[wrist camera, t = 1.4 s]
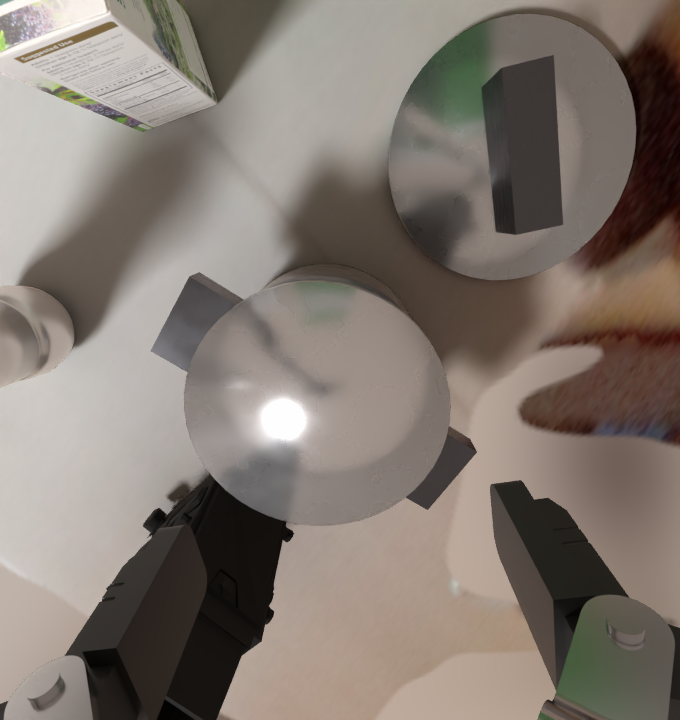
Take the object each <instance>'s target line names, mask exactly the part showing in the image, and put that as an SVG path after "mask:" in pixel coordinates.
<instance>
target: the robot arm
mask: <svg viewBox="0 0 680 720" xmlns="http://www.w3.org/2000/svg"><path fill="white" fill-rule="evenodd" d="M490 494H491V506H492V516H493V517H492V518H493V529H494V538H495V542H496V547H497V550H498V554H499V557H500V560H501V562H502V565H503V567H504V569H505V571H506V574H507V576H508V579H509V581H510V583H511V586H512V588H513V590H514V593H515V595H516V598H517V600H518V602H519V605H520V607H521V609H522V612H523V614H524V616H525V619H526V621H527V623H528V626H529V628H530V630H531V633H532V635H533V637H534V640H535V642H536V644H537V647H538V649H539V652H540V654H541V656H542V658H543V661H544V663H545V665H546V668H547V670H548V672H549V675H550V677H551V680H552V682H553V684H554V687H555V689H556V694H555V697H554V699H553V701H550V700H546V701H545V703H544V705H543V707H542V709H541V711H540V714H539V717H538V720H680V628H678V627H675V626H672V625H669V624H667V623H666V621H665V620H664V619H663V618H662V617H661V616H660V615H659V614H657V613H656V612H655V611H654V610H652V609H651V608H649V607H648V606H646V605H645V604H643V603H641V602H639V601H636V600H634V599H631V598H629V596H628V595H627V594H626V593H625V591H624V590H623V588H622V587H621V585H620V584H619V583H618V581H617V580H616V578H615V577H614V576H613V574H612V573H611V571H610V570H609V569H608V567H607V566H606V565H605V563H604V562H603V560H602V559H601V558H600V556H599V555H598V553H597V552H596V551H595V549H594V548H593V547H592V545H591V544H590V543H588V540H587V538H586V537H585V535H584V534H583V533H582V531H581V530H579V529H578V526H577V524H576V523H575V521H574V520H573V519H572V517H571V516H570V515H569V513H568V512H567V510H565V509H564V508H562V507H561V506H559V505H558V504H556V503H555V502H553V501H552V500H550V499H549V498H544V499H537V500H534V499H533V497H532V496H531V494H530V493H529V491H528V489H527V488H526V486H525V485H524V483H523V482H522V481H521V480H519V481H512V482H504V483H497V484H491V486H490ZM206 588H207V573H206V568H205V565H204V562H203V560H202V557H201V554H200V551H199V548H198V545H197V542H196V539H195V536H194V533H193V531H192V529H191V527H190V526H189V525H181V526H174V527H166V528H160V529H158V530H157V531H156V533H155V534H154V536H153V537H152V539H151V541H150V542H149V544H148V545H147V547H146V549H145V550H143V551H139V552H138V553H137V554H136V555H135V556H134V557H133V558H132V559H130V560H129V561H128V562H127V563H126V564H125V565H124V566H123V567H122V569H121V570H120V572H119V573H118V575H117V576H116V578H115V579H114V581H113V582H112V586H111V587H109V589H108V590H107V592H106V593H105V595H104V596H103V598H102V602H99V604H98V605H97V607H96V609H95V610H94V612H93V613H92V615H91V616H90V618H89V619H88V621H87V622H86V624H85V625H84V627H83V629H82V630H81V632H80V633H79V635H78V636H77V638H76V639H75V641H74V642H73V644H72V645H71V647H70V648H69V650H68V652H67V653H66V655H65V656H63V657H60V658H57V659H54V660H52V661H50V662H48V663H46V664H45V665H43V666H41V667H40V668H38V669H37V670H36V671H34V672H33V673H32V674H31V675H29V676H28V677H27V678H26V679H25V680H24V681H23V682H22V683H21V684H20V685H19V687H18V688H17V689H16V690H15V692H14V693H13V694H12V696H11V697H10V699H9V701H7V702H4V703H2V704H0V720H157V717H158V715H159V712H160V710H161V707H162V705H163V702H164V699H165V697H166V694H167V692H168V689H169V687H170V684H171V681H172V679H173V676H174V674H175V671H176V668H177V666H178V663H179V661H180V658H181V656H182V653H183V650H184V648H185V645H186V643H187V640H188V637H189V635H190V632H191V630H192V627H193V625H194V622H195V619H196V617H197V614H198V612H199V609H200V606H201V604H202V601H203V599H204V596H205V593H206Z"/></svg>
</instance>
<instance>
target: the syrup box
mask: <svg viewBox="0 0 680 720" xmlns="http://www.w3.org/2000/svg"><path fill="white" fill-rule="evenodd" d="M0 73H1V74H3V75H6V76H8V77H10V78H13V79H15V80H18V81H20V82H23V83H25V84H27V85H30V86H32V87H35V88H37V89H40V90H42V91H45V92H47V93H50V94H52V95H55V96H57V97H59V98H61V99H64V100H66V101H69V102H71V103H74V104H76V105H79V106H81V107H83V108H86V109H89V110H91V111H93V112H96V113H98V114H101V115H103V116H106V117H108V118H111V119H113V120H115V121H117V122H120V123H122V124H125V125H127V126H129V127H132V128H134V129H137V130H139V131H142V132H144V131H146V130H149V129H152V128H154V127H157V126H160V125H162V124H165V123H168V122H170V121H173V120H176V119H178V118H181V117H184V116H186V115H189V114H192V113H195V112H198V111H200V110H203V109H206V108H209V107H211V106H214V105H216V104H217V103H218V101H217V98H216V95H215V92H214V89H213V86H212V83H211V80H210V77H209V75H208V72H207V69H206V66H205V63H204V60H203V57H202V54H201V51H200V48H199V45H198V42H197V40H196V37H195V34H194V31H193V28H192V25H191V22H190V19H189V16H188V13H187V10H186V8H185V6H184V5H183V4H182V2H181V1H180V0H0Z"/></svg>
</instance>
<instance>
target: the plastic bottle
mask: <svg viewBox="0 0 680 720" xmlns="http://www.w3.org/2000/svg"><path fill="white" fill-rule="evenodd" d="M73 344H74V327H73V323H72V320H71V317H70V315H69V314H68V312H67V310H66V309H65V308H64V306H63V305H62V304H61V303H60V302H59V301H58V300H56V299H55V298H54V297H52V296H51V295H49V294H48V293H46V292H44V291H42V290H40V289H38V288H34V287H31V286H2V287H0V388H1V387H3V386H6V385H8V384H11V383H13V382H16V381H19V380H24V379H29V378H32V377H35V376H38V375H41V374H44V373H47V372H49V371H51V370H53V369H54V368H56V367H57V366H58V365H59V364H60V363H61V362H62V361H63V360H64V359H65V358H66V357H67V356H68V355H69V353H70V352H71V350H72V347H73Z"/></svg>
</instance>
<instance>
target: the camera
mask: <svg viewBox="0 0 680 720" xmlns="http://www.w3.org/2000/svg"><path fill="white" fill-rule="evenodd" d="M166 515H167V514H165V512H163V511H162V510H161V509H160V508H158V509H156V510H154V511H153V513H152V514H151V515H150V516H149V517H148V518H147V520H146V521H145V522H144V524H143V527H144V528H146V529H147V530H149V531H150V532H151V533H150V535H149V536H151V535H153V536H154V534H155V533H156V531H157V530H158V529H160V528H166V527H174V526H181V525H189V526H190V527H191V529H192V531H193V533H194V536H195V539H196V542H197V545H198V548H199V551H200V554H201V557H202V560H203V562H204V565H205V568H206V573H207V588H206V593H205V596H204V599H203V601H202V604H201V606H200V609H199V612H198V614H197V617H196V619H195V622H194V625H193V627H192V630H191V632H190V635H189V637H188V640H187V643H186V645H185V648H184V650H183V653H182V656H181V658H180V661H179V663H178V666H177V668H176V671H175V674H174V676H173V679H172V681H171V684H170V687H169V689H168V692H167V694H166V697H165V699H164V702H163V705H162V707H161V710H160V712H159V715H158V717H157V720H216V719H217V717H218V714H219V712H220V709H221V707H222V704H223V702H224V699H225V697H226V694H227V692H228V689H229V687H230V684H231V682H232V679H233V677H234V674H235V671H236V669H237V666H238V664H239V661H240V659H241V656H242V655H243V654H245V653H246V652H247V651H249V650H250V649H252V648H253V647H254V646H256V645H257V644H258V643H260V642H261V641H262V636H263V632H264V627H265V624H268V623H269V622H270V621H271V620H272V618H273V615H274V611H273V610H272V609H270V607H269V605H270V603H271V601H272V599H273V595H274V593H273V590H274V579H275V574H276V569H277V565H278V560H279V555H280V550H281V545H282V541H283V540H284V541H285V542H289V541H290V540H291V538H292V537H293V534H294V533H293V531H292V530H290V529H288V528H287V527H286V522H287V521H282V520H279V519H276V518H273V517H270V516H267V515H265V514H263V513H261V512H258V511H256V510H254V509H252V508H250V507H249V506H247V505H246V504H244V503H242V502H241V501H239V500H238V499H236V498H235V497H234V496H233V495H231V494H230V493H229V492H227V491H226V490H225V489H224V488H223V487H222V486H221V485H220V484H219V483H218V482H217V481H216V480H215V479H214V478H213V476H212V475H210V476H209V478H208V479H207V480H206V481H204V482H203V483H202V484H201V485H200V486H199V487H198V488H197V489H196V490H195V491H193V492H192V493H191V494H190V495H189V496H188V497H187V498H186V499H184V500H183V501H182V502H181V503H180V504H179V505H178V506H177V507H176V508H174V509H173V510H172V511H171V512H170V513H169V514H168V515H167V516H166ZM165 516H166V517H165ZM149 536H148V537H149ZM153 536H152V537H153ZM148 537H147V538H148ZM150 541H151V539H150V540H149V541H148V542H147V543H146V544H145V545H144V546H143V547H142V548H141V549H140V550H139V551H143V550H145V549H146V547H147V545H148V544H149V542H150ZM139 551H138V552H139ZM138 552H137V553H138ZM137 553H136V554H137ZM132 558H133V557H132ZM132 558H131V559H132ZM129 560H130V559H129ZM111 586H112V584H111V585H110V586H108V587H107V588H106V589H107V590H108V589H109V587H111ZM78 635H79V634H78Z"/></svg>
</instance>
